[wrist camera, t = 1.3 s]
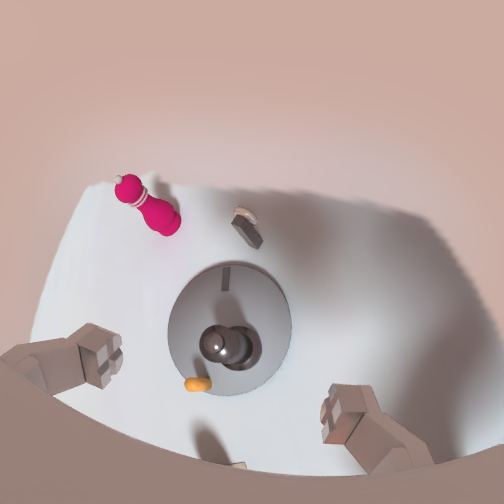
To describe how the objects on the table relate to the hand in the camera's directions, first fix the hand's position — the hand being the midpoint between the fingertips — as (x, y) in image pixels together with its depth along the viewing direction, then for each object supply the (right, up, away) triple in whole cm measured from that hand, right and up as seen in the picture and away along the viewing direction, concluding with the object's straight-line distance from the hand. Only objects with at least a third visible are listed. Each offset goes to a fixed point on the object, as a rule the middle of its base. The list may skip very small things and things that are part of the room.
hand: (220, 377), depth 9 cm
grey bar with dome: (+2, +6, +44) cm, 45 cm away
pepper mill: (-18, +11, +55) cm, 59 cm away
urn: (-1, -12, +35) cm, 37 cm away
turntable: (-4, -9, +38) cm, 39 cm away
